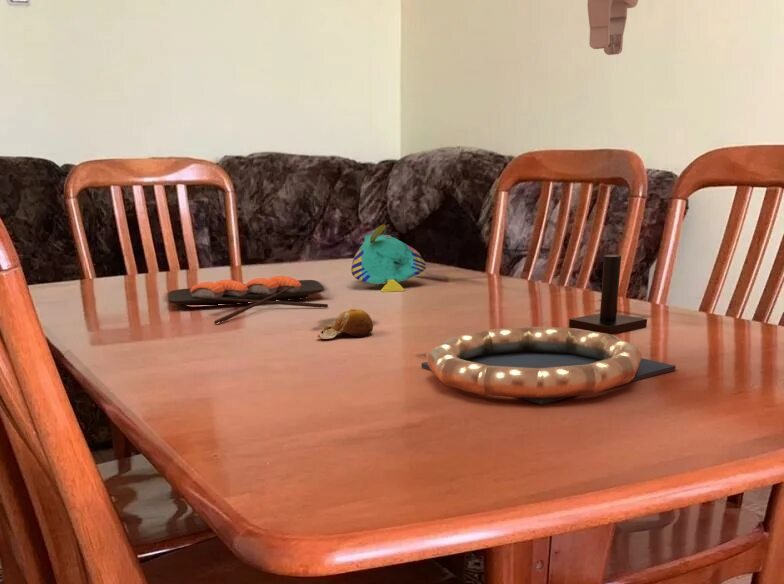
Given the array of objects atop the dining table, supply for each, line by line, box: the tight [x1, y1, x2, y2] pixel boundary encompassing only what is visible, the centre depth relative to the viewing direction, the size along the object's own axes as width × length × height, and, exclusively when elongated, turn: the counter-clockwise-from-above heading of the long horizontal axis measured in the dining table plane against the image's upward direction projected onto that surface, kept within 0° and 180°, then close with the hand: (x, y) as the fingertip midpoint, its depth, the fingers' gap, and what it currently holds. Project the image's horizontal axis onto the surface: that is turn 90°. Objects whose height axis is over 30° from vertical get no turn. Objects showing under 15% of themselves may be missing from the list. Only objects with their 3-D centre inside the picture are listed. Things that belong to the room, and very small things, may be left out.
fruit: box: [316, 308, 374, 340], centre depth 125 cm, size 8×8×4 cm
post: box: [568, 254, 648, 335], centre depth 121 cm, size 8×8×10 cm
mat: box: [421, 352, 677, 406], centre depth 103 cm, size 22×22×1 cm
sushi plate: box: [167, 275, 329, 324], centre depth 151 cm, size 29×30×4 cm
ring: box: [427, 326, 642, 399], centre depth 98 cm, size 24×24×3 cm
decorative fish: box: [351, 224, 427, 293], centre depth 167 cm, size 20×12×15 cm
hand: (606, 51), depth 87 cm, fingers open, 8 cm apart
